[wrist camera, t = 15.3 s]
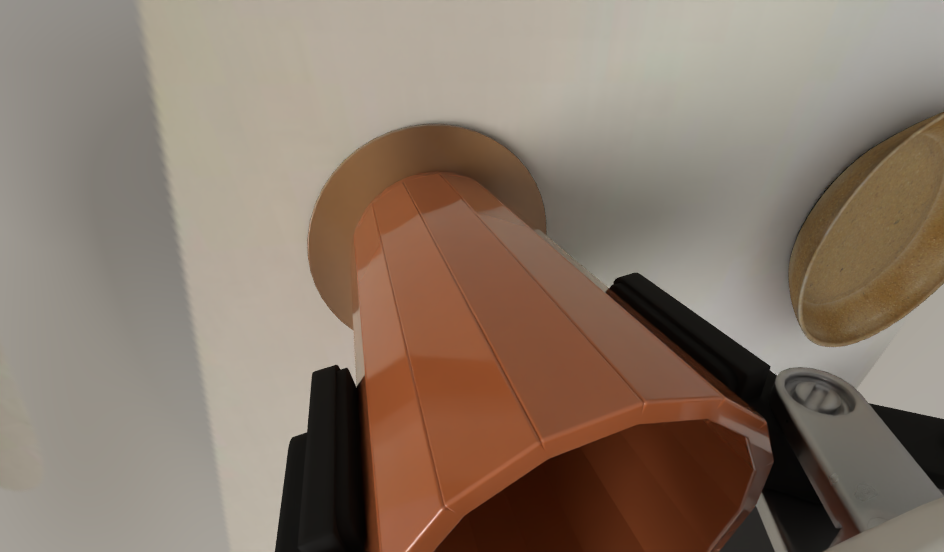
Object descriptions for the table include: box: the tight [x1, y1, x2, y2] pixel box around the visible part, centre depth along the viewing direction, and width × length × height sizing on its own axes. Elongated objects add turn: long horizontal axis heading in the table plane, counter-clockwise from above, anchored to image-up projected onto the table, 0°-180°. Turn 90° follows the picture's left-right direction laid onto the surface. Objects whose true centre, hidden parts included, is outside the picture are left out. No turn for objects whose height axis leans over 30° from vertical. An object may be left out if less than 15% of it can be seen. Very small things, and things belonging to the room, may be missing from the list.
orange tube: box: [350, 171, 774, 552], centre depth 11 cm, size 7×7×12 cm
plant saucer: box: [788, 112, 944, 347], centre depth 23 cm, size 15×15×3 cm
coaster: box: [307, 124, 546, 330], centre depth 17 cm, size 10×10×1 cm
